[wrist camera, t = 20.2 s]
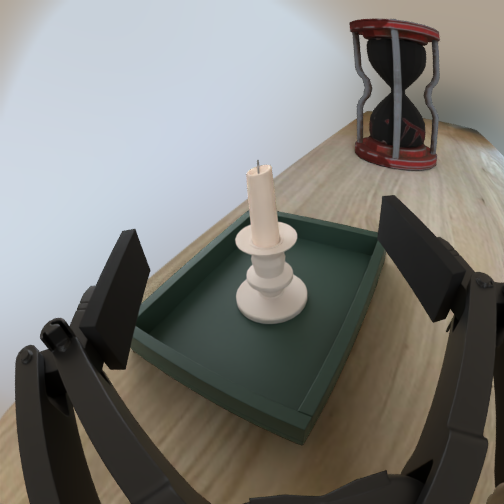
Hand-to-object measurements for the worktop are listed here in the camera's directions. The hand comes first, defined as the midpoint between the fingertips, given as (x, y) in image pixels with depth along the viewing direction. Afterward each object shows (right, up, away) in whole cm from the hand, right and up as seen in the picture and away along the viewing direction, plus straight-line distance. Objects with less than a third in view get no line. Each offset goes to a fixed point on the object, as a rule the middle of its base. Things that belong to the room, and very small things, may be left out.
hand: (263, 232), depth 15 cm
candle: (+1, -4, +7) cm, 8 cm away
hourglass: (+26, +17, +33) cm, 45 cm away
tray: (+1, -5, +7) cm, 9 cm away
